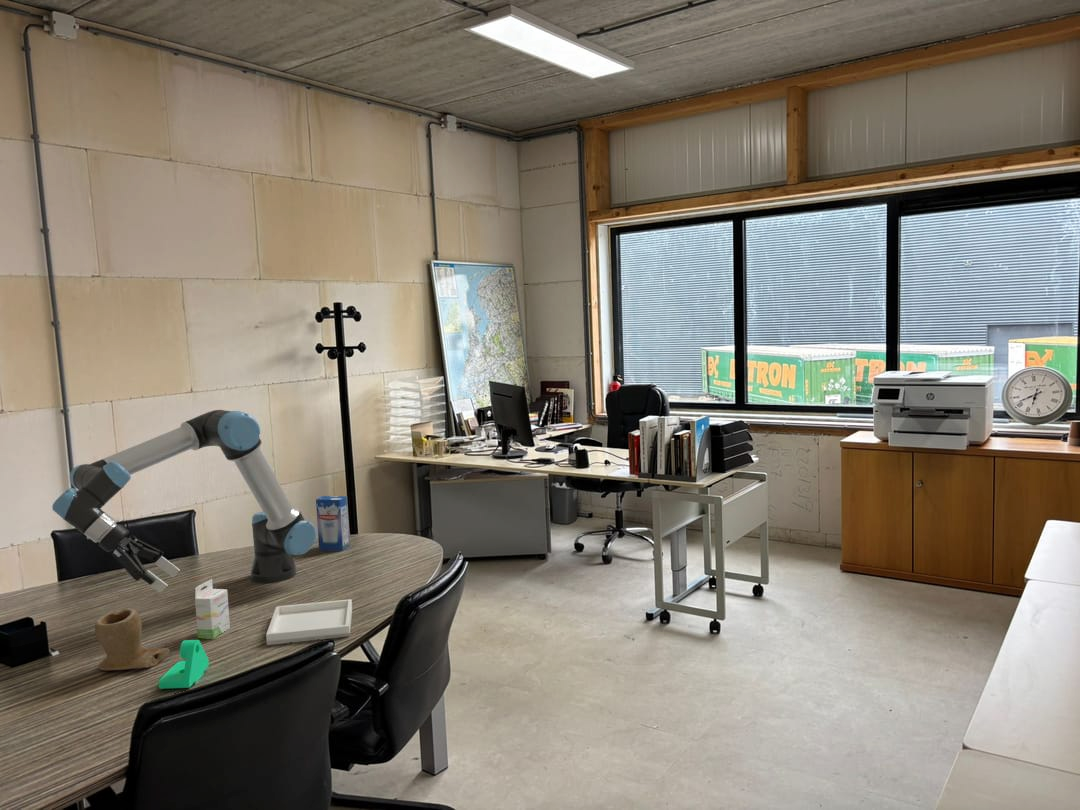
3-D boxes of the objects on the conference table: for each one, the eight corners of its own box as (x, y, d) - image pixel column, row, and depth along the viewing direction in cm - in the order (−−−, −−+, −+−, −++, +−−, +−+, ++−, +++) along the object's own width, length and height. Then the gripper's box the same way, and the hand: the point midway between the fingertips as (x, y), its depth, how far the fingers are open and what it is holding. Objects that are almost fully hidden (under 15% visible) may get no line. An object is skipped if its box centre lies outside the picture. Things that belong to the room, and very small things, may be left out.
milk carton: (349, 546, 310) (346, 496, 308) (342, 550, 304) (339, 499, 302) (326, 545, 312) (323, 495, 310) (318, 550, 306) (315, 499, 304)
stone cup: (88, 678, 198) (82, 620, 197) (113, 658, 210) (108, 603, 209) (148, 676, 198) (143, 619, 197) (170, 656, 210) (166, 602, 208)
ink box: (213, 640, 220) (209, 588, 219) (197, 639, 221) (193, 588, 220) (231, 628, 229) (227, 578, 227) (215, 627, 230) (211, 577, 228)
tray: (277, 616, 237) (276, 606, 237) (352, 608, 241) (351, 599, 241) (266, 645, 215) (266, 634, 215) (349, 636, 220) (349, 625, 219)
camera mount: (179, 671, 201) (175, 632, 200) (209, 669, 202) (206, 631, 200) (157, 693, 189) (154, 652, 188) (189, 691, 190) (186, 650, 188)
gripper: (112, 531, 229) (172, 577, 233) (81, 556, 204) (148, 606, 209) (131, 512, 229) (190, 558, 234) (101, 534, 205) (168, 585, 209)
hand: (170, 581), depth 221 cm, fingers open, 13 cm apart
